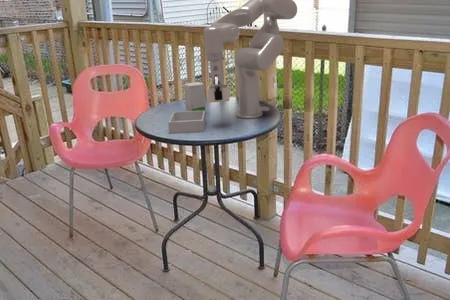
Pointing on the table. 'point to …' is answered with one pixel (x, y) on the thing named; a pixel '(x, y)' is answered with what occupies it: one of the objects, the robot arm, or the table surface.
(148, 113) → the table surface
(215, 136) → the table surface
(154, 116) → the table surface
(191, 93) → the skincare box
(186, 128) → the base crate
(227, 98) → the small crate
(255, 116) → the robot arm
